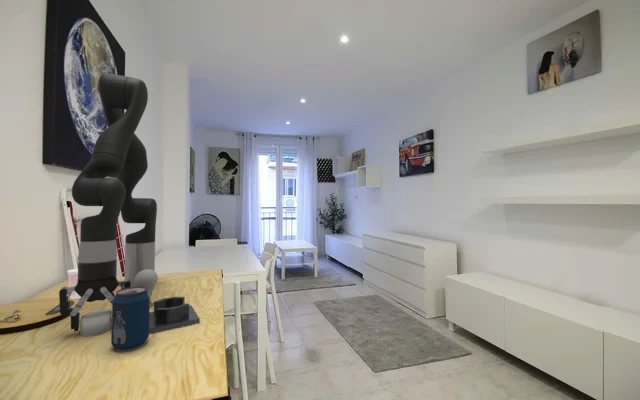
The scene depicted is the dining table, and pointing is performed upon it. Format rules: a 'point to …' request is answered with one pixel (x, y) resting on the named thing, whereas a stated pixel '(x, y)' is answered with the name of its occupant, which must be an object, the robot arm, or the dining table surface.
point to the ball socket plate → (171, 314)
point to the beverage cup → (73, 282)
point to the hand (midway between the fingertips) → (96, 326)
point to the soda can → (130, 318)
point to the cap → (95, 322)
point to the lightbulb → (146, 280)
